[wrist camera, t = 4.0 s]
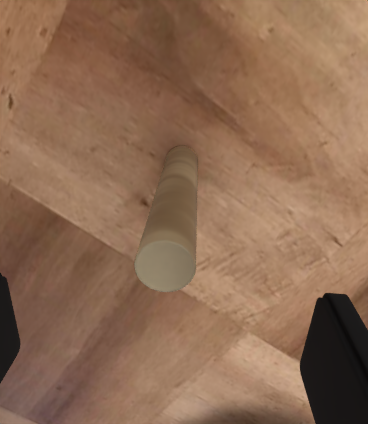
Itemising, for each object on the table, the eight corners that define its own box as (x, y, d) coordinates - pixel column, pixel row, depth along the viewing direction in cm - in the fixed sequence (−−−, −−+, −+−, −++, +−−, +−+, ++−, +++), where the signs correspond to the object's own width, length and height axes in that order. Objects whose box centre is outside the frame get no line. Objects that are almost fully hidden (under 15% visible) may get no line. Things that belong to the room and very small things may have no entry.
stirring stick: (165, 175, 27) (134, 290, 14) (166, 144, 26) (133, 239, 13) (196, 177, 27) (194, 294, 14) (198, 146, 26) (197, 242, 13)
